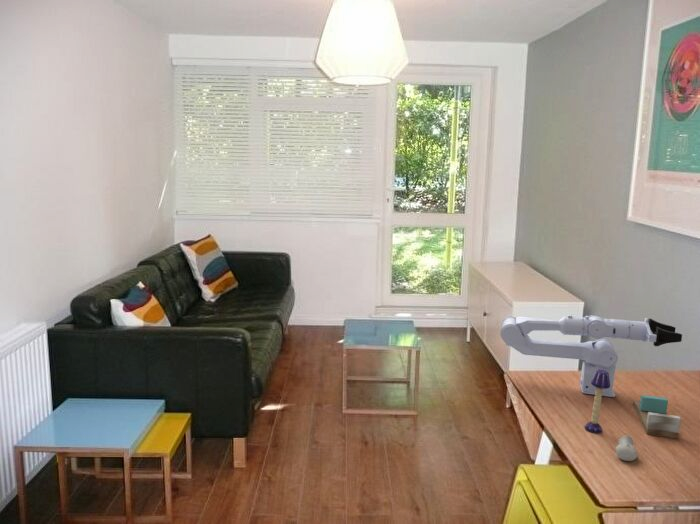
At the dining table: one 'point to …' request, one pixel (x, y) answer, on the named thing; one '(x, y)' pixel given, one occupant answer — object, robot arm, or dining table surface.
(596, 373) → the toy lamp
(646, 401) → the sliding jaw
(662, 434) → the clamp board
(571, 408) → the dining table surface
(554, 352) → the robot arm
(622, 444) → the pale two-lobed sculpture
